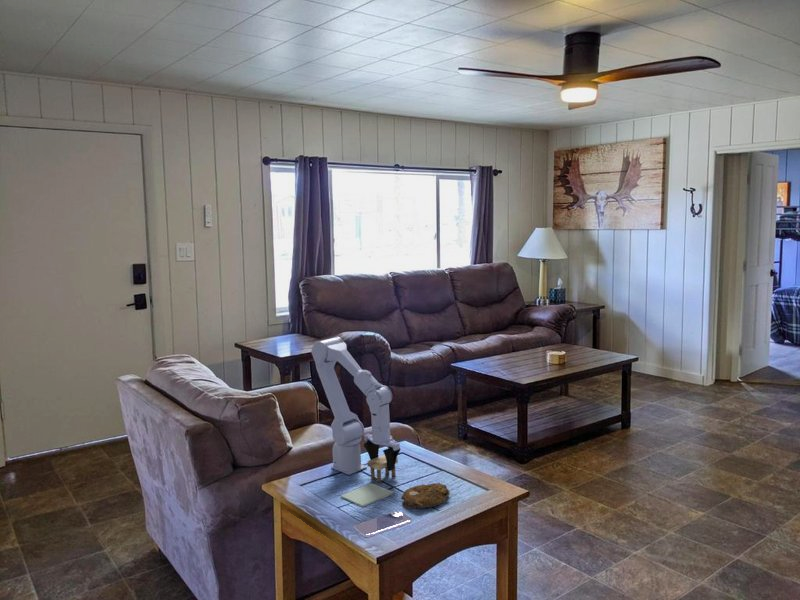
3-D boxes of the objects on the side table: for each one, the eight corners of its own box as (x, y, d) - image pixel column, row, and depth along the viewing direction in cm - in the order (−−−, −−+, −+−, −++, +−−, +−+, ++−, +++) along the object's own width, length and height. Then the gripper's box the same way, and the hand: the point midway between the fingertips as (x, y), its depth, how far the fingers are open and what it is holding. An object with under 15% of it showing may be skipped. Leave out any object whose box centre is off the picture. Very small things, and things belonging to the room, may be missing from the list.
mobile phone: (351, 524, 165) (399, 509, 173) (351, 528, 165) (399, 512, 173) (365, 535, 158) (414, 519, 166) (365, 539, 158) (414, 522, 166)
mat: (340, 497, 183) (340, 495, 183) (371, 484, 192) (371, 483, 192) (362, 507, 176) (362, 505, 176) (393, 493, 184) (393, 491, 184)
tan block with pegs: (368, 479, 196) (367, 461, 195) (386, 471, 201) (386, 454, 200) (379, 484, 192) (378, 465, 191) (398, 476, 197) (397, 458, 197)
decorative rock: (432, 488, 188) (395, 506, 178) (430, 475, 188) (393, 492, 178) (459, 498, 179) (421, 517, 170) (458, 484, 179) (420, 502, 169)
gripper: (405, 426, 192) (407, 468, 194) (375, 417, 202) (377, 457, 204) (389, 432, 187) (391, 475, 189) (358, 423, 198) (360, 464, 199)
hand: (382, 466), depth 196 cm, fingers open, 7 cm apart
